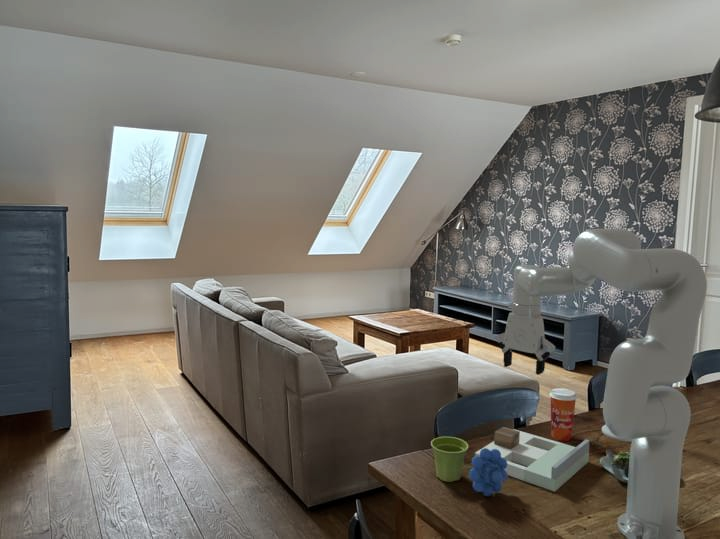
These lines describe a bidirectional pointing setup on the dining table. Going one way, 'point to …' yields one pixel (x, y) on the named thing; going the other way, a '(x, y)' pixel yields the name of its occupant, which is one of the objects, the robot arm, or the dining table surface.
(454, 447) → the plant pot
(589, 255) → the robot arm
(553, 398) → the paper cup
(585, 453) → the white compartment tray
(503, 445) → the block
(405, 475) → the dining table surface
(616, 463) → the salad plate
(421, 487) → the dining table surface
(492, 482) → the grapes
